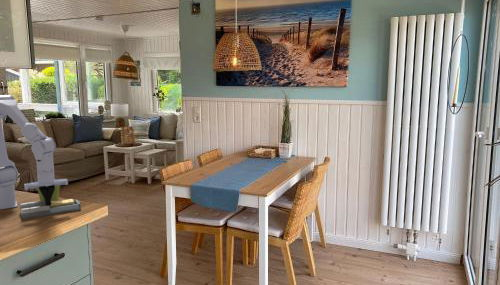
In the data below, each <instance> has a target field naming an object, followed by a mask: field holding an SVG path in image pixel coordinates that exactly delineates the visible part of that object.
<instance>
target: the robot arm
mask: <svg viewBox="0 0 500 285" xmlns="http://www.w3.org/2000/svg"><path fill="white" fill-rule="evenodd" d="M4 116H8V118H10V119H11V120H12V121H13V122H14V123H15V124H16V125H17V126H18V127H19V128H20V134H21V135H22V136H23V137H24V138H25V140H26V141H27V142H28V143H29V144H30V146H31V147H30V149H31V151H32V153H33V156H34V159H35V161H36V162H35V163H36V175H37V176H36V177H37V181H34V182H29V183H24V185H23V187H24V191H27V190H33V189H37V188H39V190H40V192H41V193H42V195H43V197H44V199H45V202H46V205H49V206H50V202H51V198H52V195H53V193H54V190H55V186H58V185H60V186H64V185H65V186H68V185H69V181H68V179H67V178H61V179H59V178H58V179H56V178H55V165H54V152H55V151H56V150H57V145H56V141H55V140H54V139H53V138H52V137H48V136H47V135H45V134H44V133H43V131H42V130H40V128H39V126H38V125H37V124H35V123H34V122H33V123H32V122H31V123H30V122H29V120H28V119H27V118H26V116H25V115H24V113H23V112H22V111H21V110H20V108H19V106H18V101H17V100H16V99H15V98H14V96H13V95H11V94H0V210H5V209H12V208H18V202H17V198H16V190H15V184H16V181H17V180H18V178H19V171H18V169H17V167H16V164H15V162H14V161H13V160H10V159H9V155H8V152H7V151H8V150H7V144H6V140H5V134H4V130H3V123H2V119H3V118H4Z"/></svg>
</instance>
